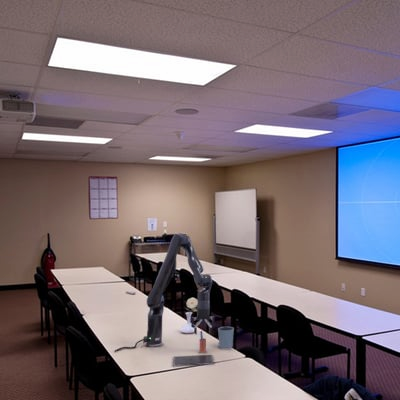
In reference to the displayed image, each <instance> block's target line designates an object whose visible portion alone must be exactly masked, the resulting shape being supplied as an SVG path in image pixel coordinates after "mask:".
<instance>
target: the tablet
mask: <svg viewBox="0 0 400 400" xmlns="http://www.w3.org/2000/svg"><path fill="white" fill-rule="evenodd" d="M172 365H173V367H186V366H203V365H205V366H206V365H214V359H213V355H212V354H199V355H198V354H197V355H179V356H178V355H177V356H173V364H172Z"/></svg>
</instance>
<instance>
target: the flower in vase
mask: <svg viewBox="0 0 400 400" xmlns="http://www.w3.org/2000/svg"><path fill="white" fill-rule="evenodd" d="M197 303H198V298H195V297H190V298H188V299H187V300H186V303H185V304H186V307H187V308H186V310H187V312H185V315H186V323H185V324H184V325H183V326H182V327H181V328H180V332H181V333H183V334H193V333H194V328H192V327H191V324H192V322H191V319H192V314H193V312H194V313H195V312H196V313H197ZM190 309H191V310H190Z"/></svg>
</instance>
